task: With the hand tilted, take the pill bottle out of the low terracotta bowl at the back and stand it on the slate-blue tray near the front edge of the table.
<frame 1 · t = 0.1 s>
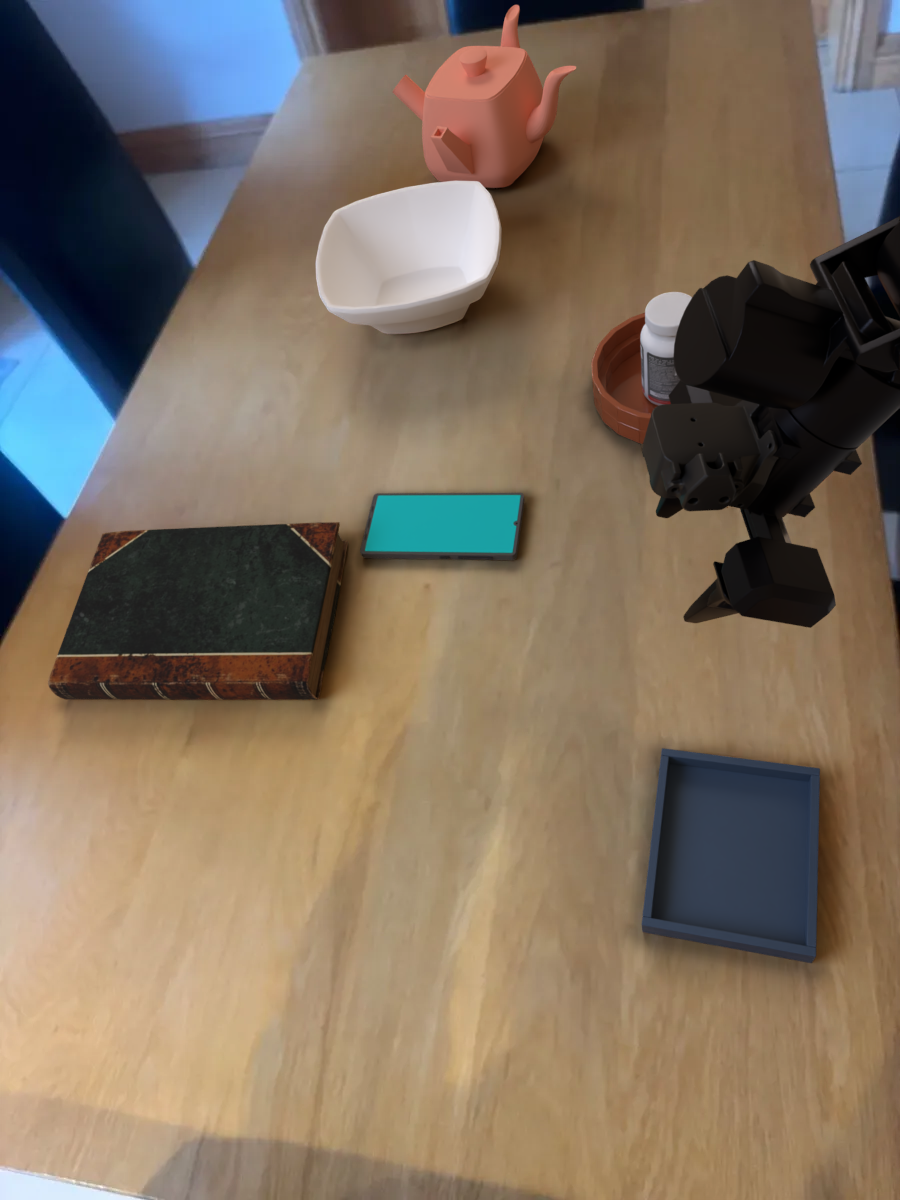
hand: (674, 566, 65), 13 cm above the table, tool tilted 35°, fingers open, 9 cm apart
tray: (731, 853, 66), on the table
smartphone: (443, 529, 87), on the table
teapot: (495, 162, 119), on the table
bowl: (423, 306, 106), on the table
terracotta bowl: (671, 390, 91), on the table
pill bottle: (671, 390, 91), resting on terracotta bowl
book: (212, 622, 87), on the table
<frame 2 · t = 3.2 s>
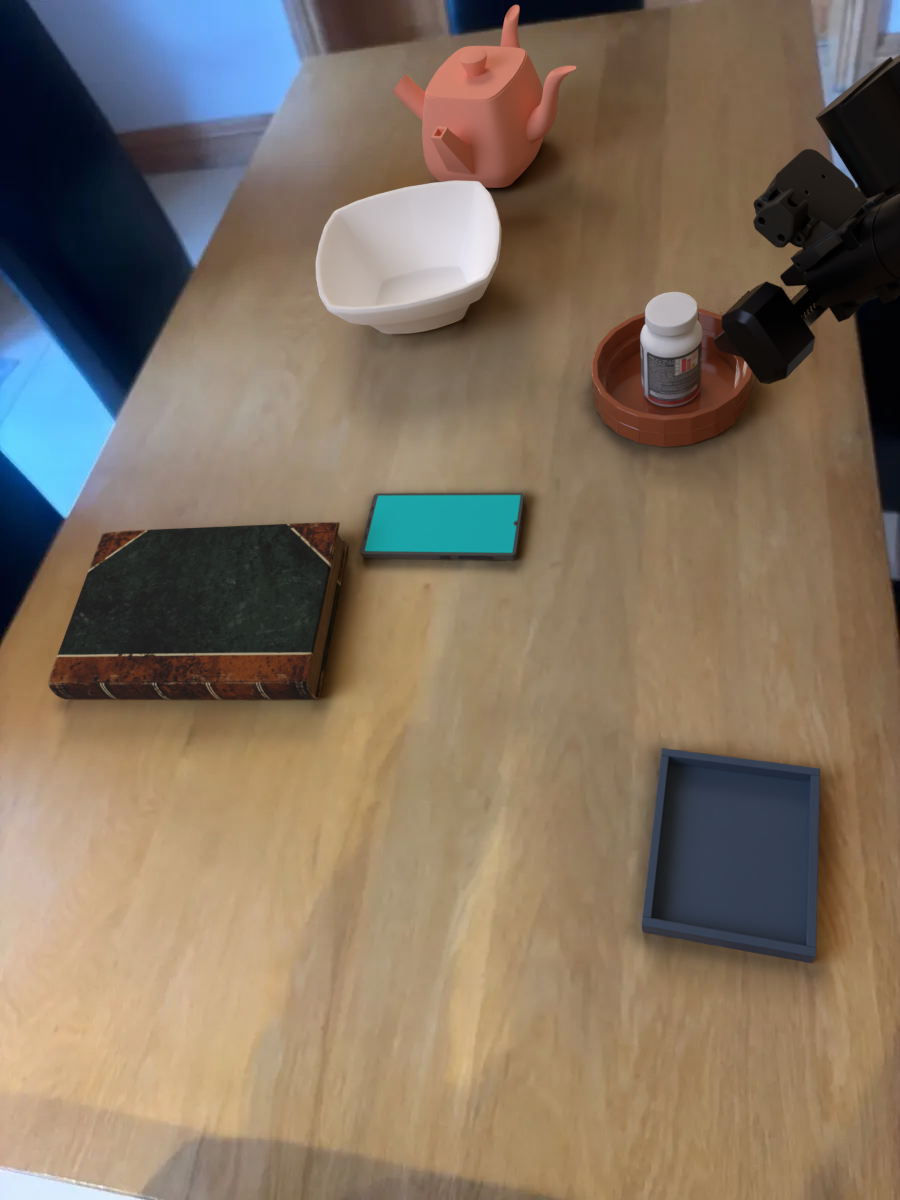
hand: (751, 312, 76), 14 cm above the table, tool tilted 45°, fingers open, 9 cm apart
nothing on the table moved.
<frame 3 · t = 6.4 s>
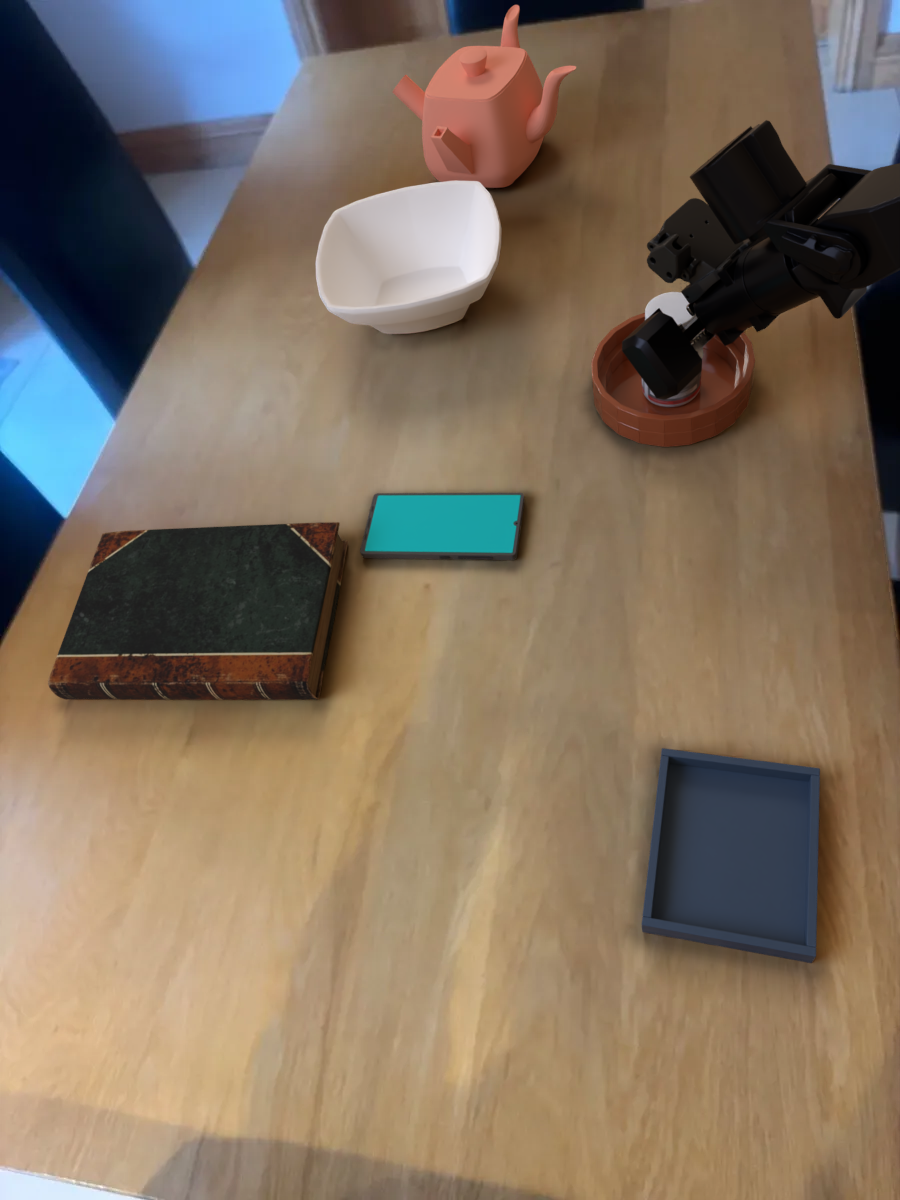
hand: (659, 334, 86), 7 cm above the table, tool tilted 45°, fingers closed on pill bottle, 6 cm apart
pill bottle: (671, 390, 91), resting on terracotta bowl, touching gripper
everything else where it was.
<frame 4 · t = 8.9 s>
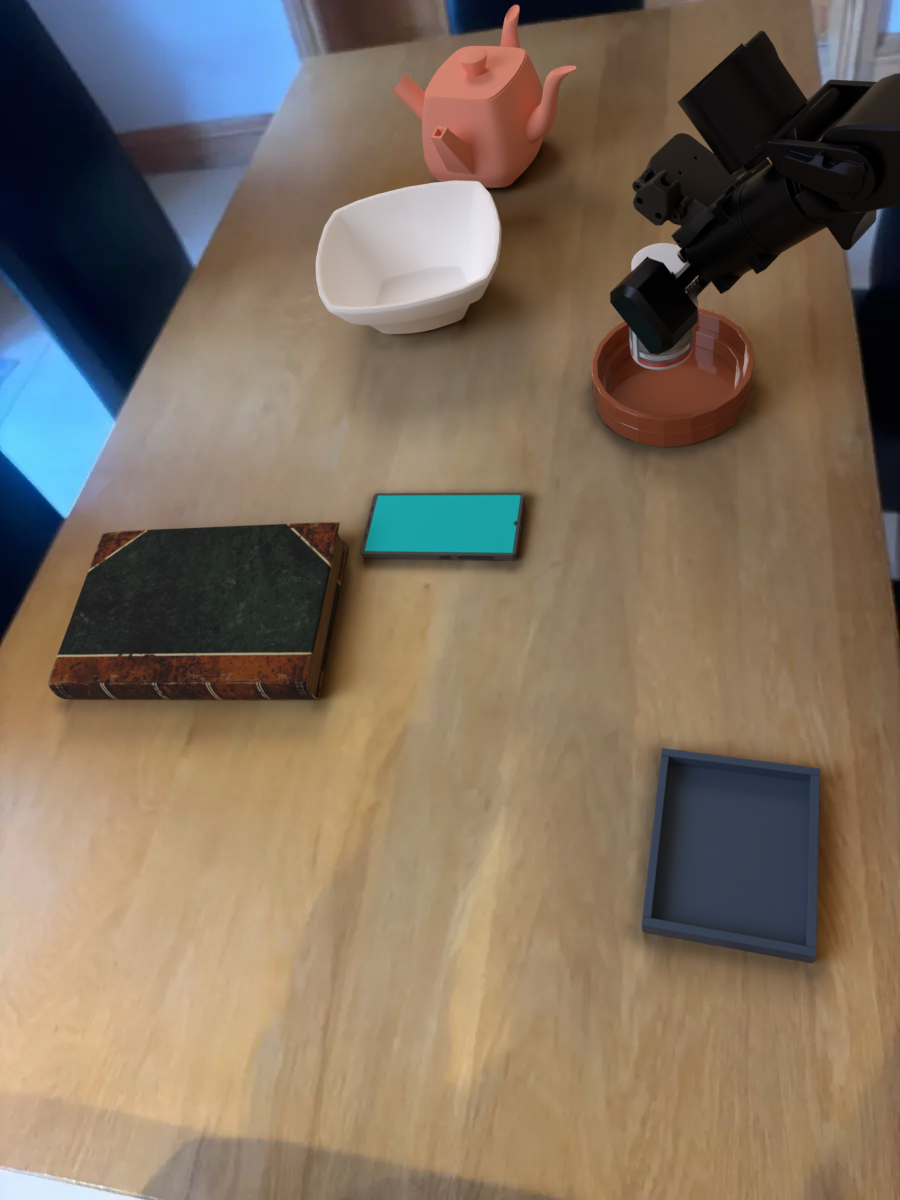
hand: (647, 291, 80), 13 cm above the table, tool tilted 45°, fingers closed on pill bottle, 6 cm apart
pill bottle: (661, 352, 85), point 7 cm above the table, touching gripper
everything else where it was.
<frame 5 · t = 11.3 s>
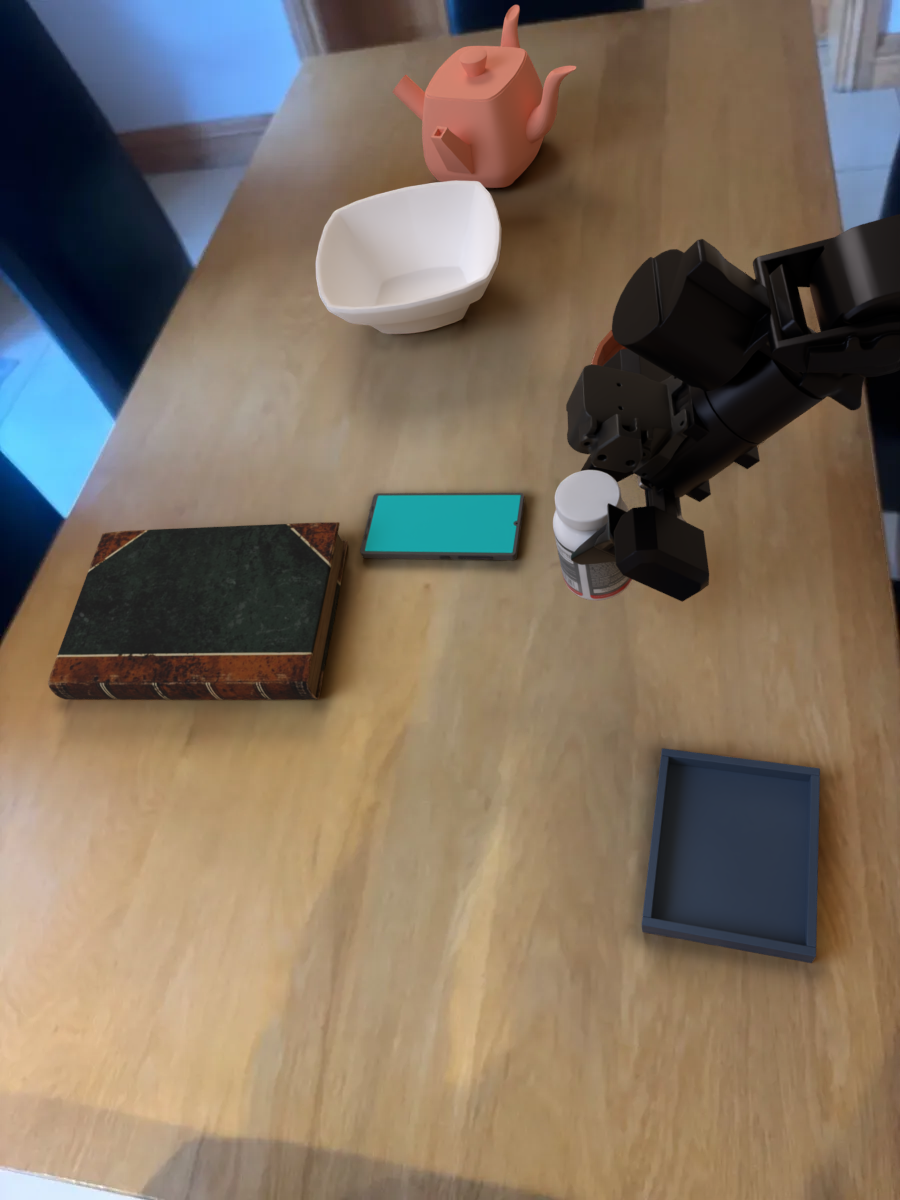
hand: (574, 527, 68), 13 cm above the table, tool tilted 45°, fingers closed on pill bottle, 6 cm apart
pill bottle: (598, 574, 73), point 7 cm above the table, touching gripper
everything else where it was.
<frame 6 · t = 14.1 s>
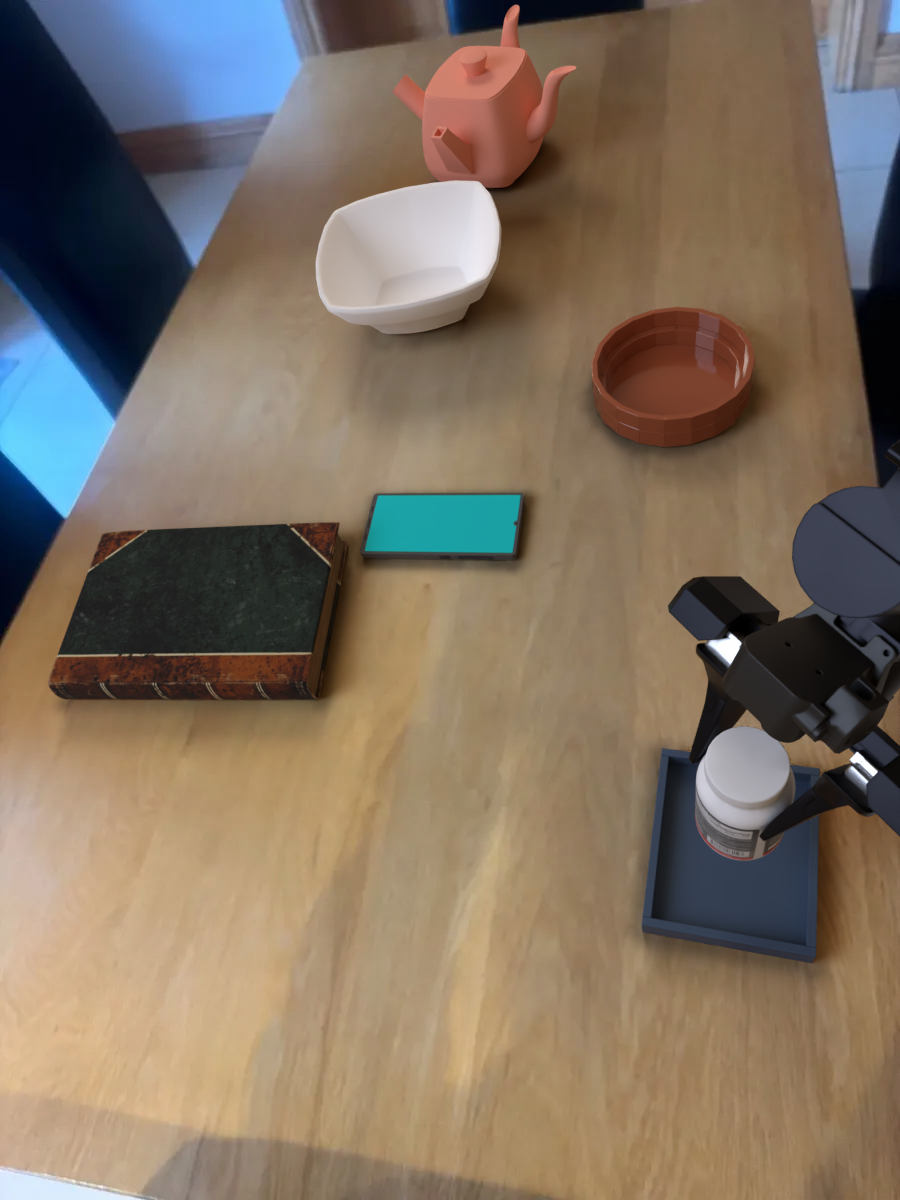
hand: (727, 798, 55), 13 cm above the table, tool tilted 45°, fingers closed on pill bottle, 6 cm apart
pill bottle: (738, 821, 60), point 7 cm above the table, touching gripper
everything else where it was.
when the fingers open (7 cm above the table, at t = 16.4 s): pill bottle stays where it is, resting on tray.
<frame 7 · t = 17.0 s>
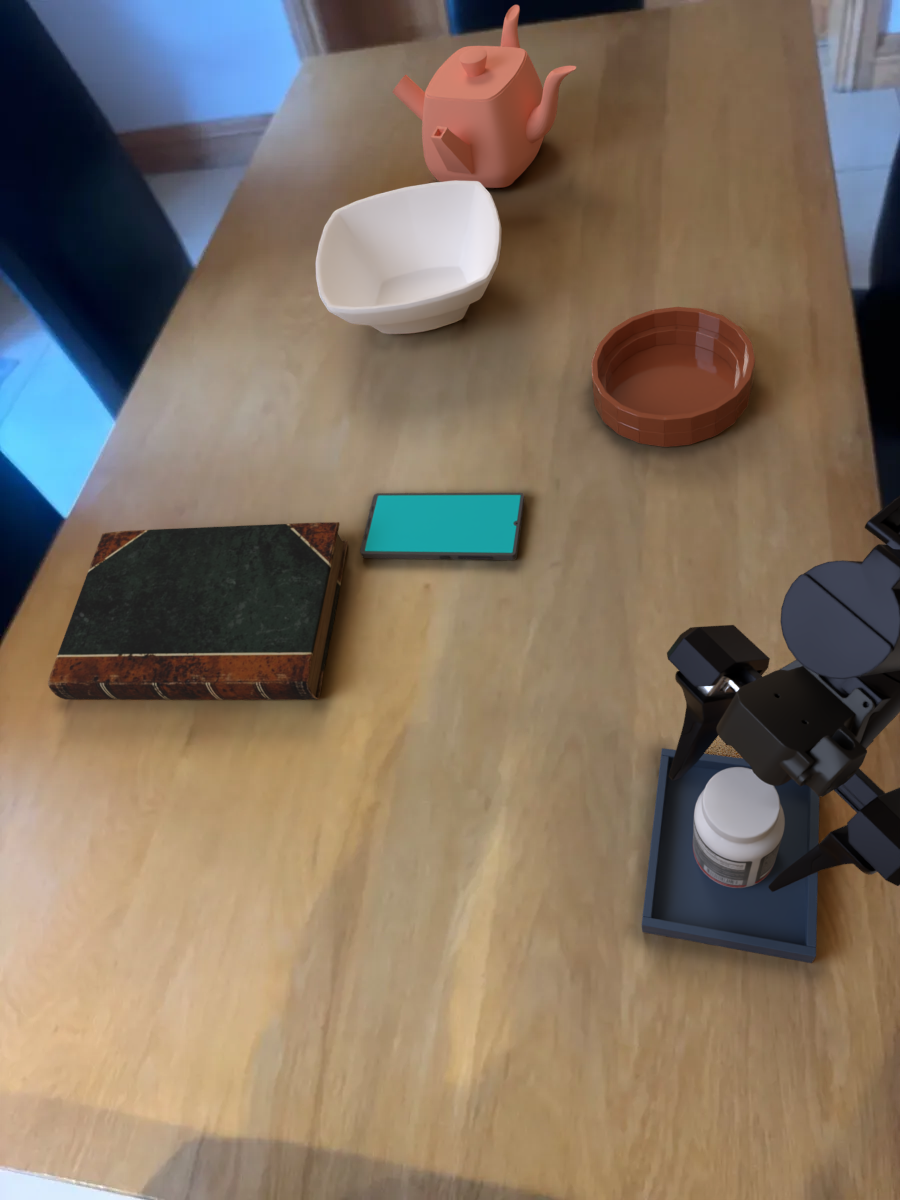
hand: (721, 830, 59), 8 cm above the table, tool tilted 45°, fingers open, 9 cm apart
pill bottle: (733, 851, 66), resting on tray
everything else where it was.
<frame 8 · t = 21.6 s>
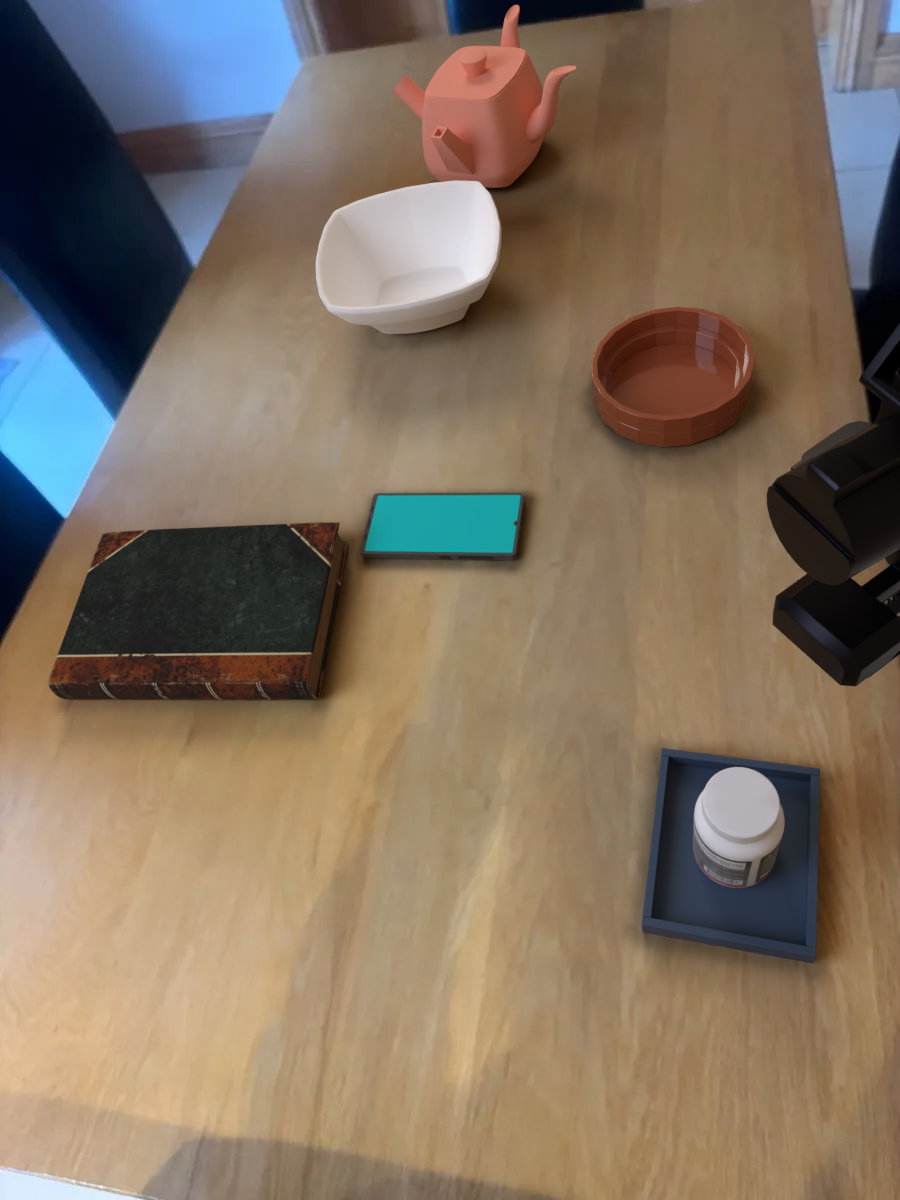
nothing on the table moved.
at the end: pill bottle inside the target area in the tray (0.1 cm from its centre), point 0.4 cm above the tray's base; pill bottle tilted 0°; the gripper is holding nothing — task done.
